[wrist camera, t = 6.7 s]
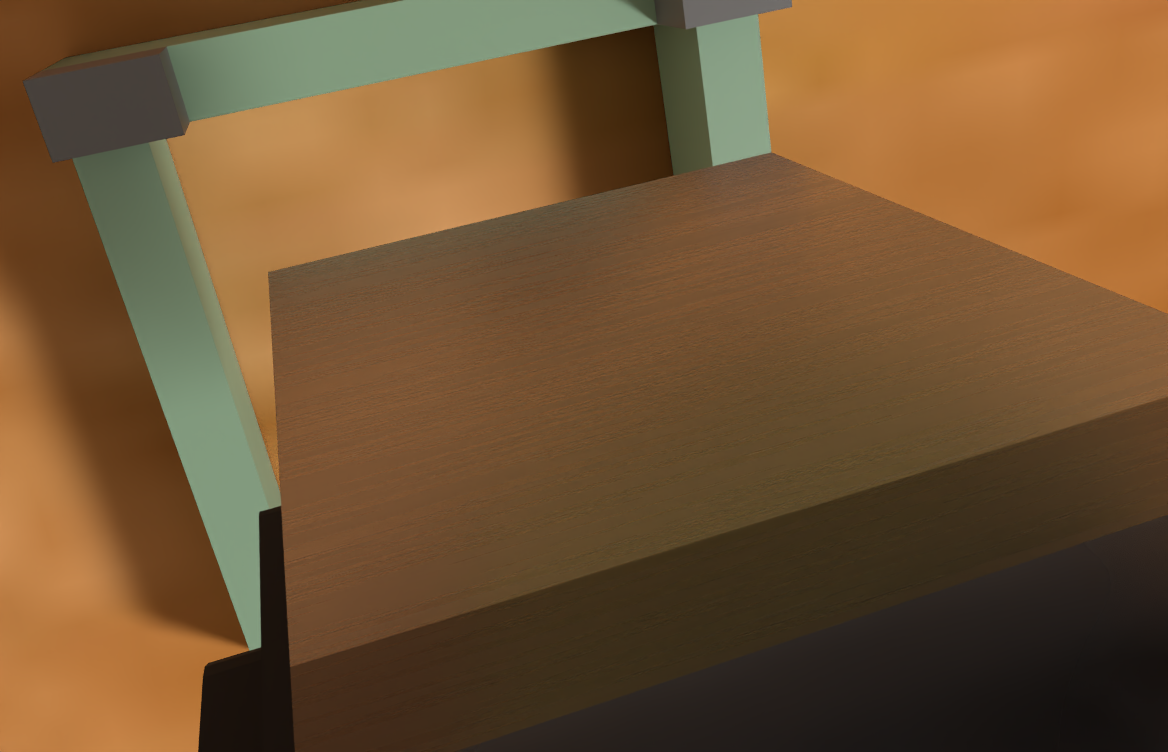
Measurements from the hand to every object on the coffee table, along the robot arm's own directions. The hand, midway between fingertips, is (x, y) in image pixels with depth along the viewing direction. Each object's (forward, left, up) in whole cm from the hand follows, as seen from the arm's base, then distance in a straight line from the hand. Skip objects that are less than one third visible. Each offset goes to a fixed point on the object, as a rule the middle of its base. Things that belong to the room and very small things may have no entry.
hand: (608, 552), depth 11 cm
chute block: (0, 0, -1) cm, 1 cm away
